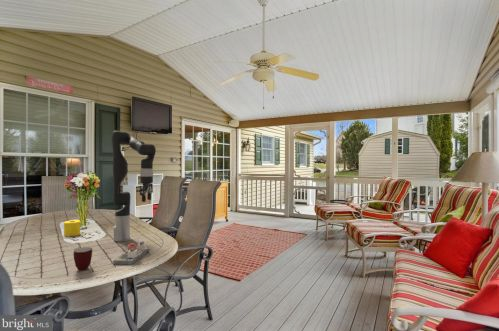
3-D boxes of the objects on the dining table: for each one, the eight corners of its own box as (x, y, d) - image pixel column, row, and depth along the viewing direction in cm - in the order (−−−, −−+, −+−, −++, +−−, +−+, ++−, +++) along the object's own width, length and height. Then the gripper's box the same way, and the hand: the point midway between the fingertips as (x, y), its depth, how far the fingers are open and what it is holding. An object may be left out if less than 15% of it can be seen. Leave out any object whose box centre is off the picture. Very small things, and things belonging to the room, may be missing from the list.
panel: (113, 264, 146) (113, 258, 146) (132, 250, 169) (132, 245, 168) (131, 264, 146) (131, 259, 146) (148, 250, 168) (148, 246, 168)
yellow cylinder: (83, 232, 207) (83, 220, 207) (73, 236, 197) (73, 223, 197) (70, 232, 208) (70, 219, 208) (60, 236, 198) (60, 222, 198)
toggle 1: (127, 257, 150) (127, 249, 150) (130, 255, 153) (130, 247, 153) (134, 258, 150) (135, 249, 150) (137, 255, 153) (137, 247, 153)
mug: (68, 268, 140) (68, 249, 140) (85, 264, 146) (85, 245, 146) (77, 274, 134) (77, 253, 133) (95, 268, 140) (95, 249, 140)
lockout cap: (126, 254, 155) (126, 245, 155) (129, 252, 160) (130, 242, 159) (134, 255, 155) (134, 245, 155) (137, 252, 159) (137, 242, 159)
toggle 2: (137, 250, 162) (137, 242, 162) (139, 248, 165) (139, 241, 165) (144, 250, 162) (144, 243, 162) (146, 248, 165) (146, 241, 165)
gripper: (148, 176, 168) (147, 202, 169) (156, 174, 182) (156, 199, 183) (135, 176, 168) (135, 202, 169) (145, 174, 183) (145, 198, 183)
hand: (146, 200), depth 176 cm, fingers open, 8 cm apart
